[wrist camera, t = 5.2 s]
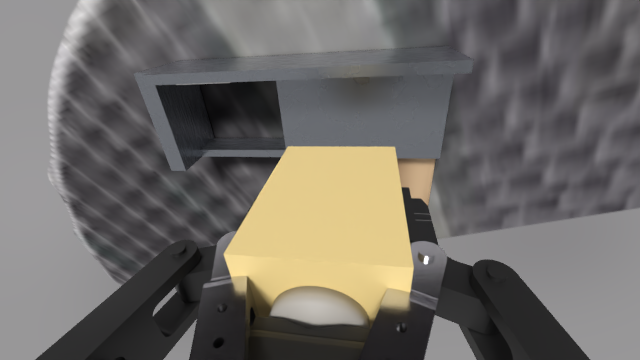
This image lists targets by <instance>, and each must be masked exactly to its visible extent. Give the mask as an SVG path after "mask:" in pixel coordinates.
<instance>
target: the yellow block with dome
mask: <svg viewBox="0 0 640 360" xmlns="http://www.w3.org/2000/svg"><path fill="white" fill-rule="evenodd" d="M224 257H225V260H226V263H227V266H228V269H229V272H230V275H231V277H233V276H247V277H248V280H249V284H250V287H251V290H252V294H253V297H254V300H255V304H256V307H257V310H258V314H259V316H260V317H269V318H278V319H284V320H287V321H289V322H292V323H294V324H297V325H299V326H302V327H304V328H307V329H310V330H313V329H320V328H327V327H334V326H341V325H342V326H351V327H360V328H369V329H371V327H372V325H373V323H374V320H375V318H376V315H377V313H378V310H379V308H380V305H381V303H382V301H383V298H384V296H385V293H386V291H387V289H388V288H392V289H398V290H402V291H406V292H410V291H411V284H412V277H413V270H414V266H413V260H412V253H411V247H410V240H409V234H408V227H407V221H406V214H405V208H404V201H403V195H402V189H401V182H400V176H399V169H398V163H397V156H396V150H395V147H330V146H288V147H287V149H286V151H285V152H284V154H283V156H282V157H281V159H280V161H279V162H278V164H277V166H276V167H275V169H274V171H273V172H272V174H271V176H270V177H269V179H268V181H267V182H266V184H265V186H264V187H263V189H262V191H261V192H260V194H259V196H258V197H257V199H256V201H255V202H254V204H253V206H252V207H251V209H250V211H249V212H248V214H247V216H246V217H245V219H244V221H243V222H242V224H241V226H240V227H239V229H238V231H237V232H236V234H235V236H234V237H233V239H232V241H231V242H230V244H229V246H228V247H227V249H226V251H225V252H224Z"/></svg>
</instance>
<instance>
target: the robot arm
mask: <svg viewBox="0 0 640 360" xmlns="http://www.w3.org/2000/svg"><path fill="white" fill-rule="evenodd" d="M401 189H402V195H403V201H404V208H405V214H406V221H407V227H408V234H409V240H410V247H411V253H412V260H413V266H414V270H413V277H412V284H411V291H410V292H406V291H402V290H398V289H392V288H388V289H387V291H386V293H385V296H384V298H383V301H382V303H381V305H380V308H379V310H378V313H377V315H376V318H375V320H374V323H373V325H372V327H371V329H369V328H360V327H351V326H342V325H341V326H334V327H327V328H320V329H313V330H310V329H307V328H304V327H302V326H299V325H297V324H294V323H292V322H289V321H287V320H284V319H278V318H269V317H260V316H259V314H258V310H257V307H256V304H255V300H254V297H253V294H252V290H251V287H250V284H249V280H248V277H247V276H233V277H231V275H230V272H229V269H228V266H227V263H226V260H225V257H224V252H225V251H226V249H227V247H228V246H229V244H230V242H231V241H232V239H233V237H234V236H235V234H236V232H237V231H238V229H239V227H240V226H241V224H242V222H243V221H244V219H245V217H246V216H247V214H248V213H247V214H246V215H245V217H244V218H243V220H242V222H241V223H240V225H239V227H238V228H237V230H236V231H234V232H231V233H228V234H226V235H225V236H223V237H222V238H221V239H220V240H219V242H218V243H217V245H215V246H210V247H204V248H199V249H198V246H197V244H196V242H194V241H192V240H181V241H178V242H175V243H173V244H171V245H170V246H168V247H167V248H166V249H165V250H163V251H162V252H161V253H160V254H159V255H158V256H156V257H155V258H154V259H153V260H152V261H150V262H149V263H148V264H147V265H146V266H145V267H143V268H142V269H141V270H140V271H139V272H138V273H136V274H135V275H134V276H133V277H132V278H131V279H129V280H128V281H127V282H126V283H125V284H124V285H122V286H121V287H120V288H119V289H118V290H117V291H115V292H114V293H113V294H112V295H111V296H110V297H109V298H107V299H106V300H105V301H104V302H102V303H101V304H100V305H99V306H98V307H97V308H95V309H94V310H93V311H92V312H91V313H90V314H88V315H87V316H86V317H85V318H84V319H83V320H81V321H80V322H79V323H78V324H77V325H76V326H74V327H73V328H72V329H71V330H70V331H68V332H67V333H66V334H65V335H64V336H63V337H62V338H60V339H59V340H58V341H57V342H56V343H54V344H53V345H52V346H51V347H50V348H49V349H47V350H46V351H45V352H44V353H43V354H42V355H40V356H39V357H38V358H37V359H36V360H163V359H164V358H165V357H166V355H167V354H168V353H169V352H170V351H171V349H172V348H173V347H174V346H175V344H176V343H177V342H178V341H179V340H180V338H181V337H182V336H183V335H184V333H185V332H186V331H187V330H188V328H189V327H190V326H191V325H192V324H193V322H194V321H195V320H196V319H197V321H196V326H195V331H194V337H193V342H192V347H191V352H190V357H189V360H424V358H425V354H426V349H427V346H428V341H429V337H430V332H431V328H432V324H433V320H434V315H437V316H439V317H442V318H444V319H447V320H450V321H452V322H454V323H457V324H459V326H460V328H461V330H462V332H463V334H464V336H465V338H466V340H467V342H468V344H469V346H470V347H471V349H472V351H473V353H474V355H475V357H476V359H477V360H590V359H589V358H588V357H587V355H586V354H585V353H584V352H583V351H582V350H581V348H580V347H579V346H578V345H577V344H576V342H575V341H574V340H573V339H572V338H571V337H570V335H569V334H568V333H567V332H566V331H565V330H564V328H563V327H562V326H561V325H560V324H559V323H558V321H557V320H556V319H555V318H554V317H553V315H552V314H551V313H550V312H549V311H548V310H547V308H546V307H545V306H544V305H543V304H542V302H541V301H540V300H539V299H538V298H537V297H536V295H535V294H534V293H533V292H532V291H531V290H530V288H529V287H528V286H527V285H526V284H525V283H524V281H523V280H522V279H521V278H520V277H519V275H518V274H517V273H516V272H515V271H514V270H513V269H512V268H510V267H509V266H507V265H505V264H503V263H501V262H498V261H494V260H480V261H478V262H476V263H475V264H474V266H470V265H466V264H463V263H460V262H457V261H454V260H452V259H451V258H449V257H447V255H446V253H445V251H444V250H443V249H442V248H441V247H439V245H438V242H437V238H436V235H435V231H434V227H433V224H432V221H431V216H430V213H429V209H428V205H427V204H426V203H425V202H424V201H423V200H422V199H421V198H411V194H410V189H409V187H401ZM256 199H257V198H256ZM256 199H255V200H254V202H255V201H256ZM254 202H253V204H254ZM253 204H252V205H251V207H252V206H253ZM251 207H250V209H251ZM250 209H249V210H248V212H249V211H250ZM174 287H175V289H176V291H177V292H176V293H175V294H174V295H173V296H172V297H171V298H170V300H169V301H168V302H167V303H166V304H165V305H164V306H163V307H162V308H161V309H160V310H159V311H158V312H157V313H156V314H155V315H154V316H153V311H154V309H155V307H156V306H157V304H158V303H159V302H160V301H161V300H162V299H163V298H164V297H165V296H166V295H167V294H168V293H169V292H170V291H171V290H172V289H173V288H174Z"/></svg>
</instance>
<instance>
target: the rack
mask: <svg viewBox="0 0 640 360" xmlns="http://www.w3.org/2000/svg"><path fill="white" fill-rule="evenodd" d="M473 63H474V60H473V59H472V58H470V57H468V56H466V55H464V54H462V53H461V52H459V51H457V50H455V49H453V48H451V47H450V46H437V47H419V48H401V49H383V50H365V51H347V52H328V53H310V54H292V55H274V56H256V57H238V58H220V59H202V60H184V61H176V62H172V63H169V64H165V65H162V66H158V67H155V68H151V69H148V70H144V71H141V72H137V73H134V75H135V78H136V81H137V83H138V86H139V88H140V91H141V93H142V96H143V98H144V101H145V104H146V106H147V109H148V111H149V114H150V116H151V119H152V122H153V124H154V127H155V129H156V132H157V134H158V137H159V139H160V142H161V145H162V147H163V150H164V152H165V155H166V157H167V160H168V162H169V165H170V168H171V170H172V171H186V170H187V169H189V168H190V167H191V166H192V165H193V164H194V163H195V162H197V161H198V160H199V159H200V158H201V157H202V156H211V157H282V156H283V154H284V152H285V151H286V149H287V147H288V146H330V147H395V150H396V156H397V158H419V159H440V154H441V148H442V142H443V136H444V130H445V124H446V118H447V112H448V106H449V100H450V94H451V88H452V82H453V76H454V73H472V68H473ZM250 81H276V85H277V92H278V99H279V106H280V112H281V119H282V126H283V133H284V138H214V135H213V132H212V128H211V125H210V121H209V118H208V114H207V111H206V107H205V104H204V100H203V96H202V93H201V89H200V86H199V84H213V83H231V82H250Z"/></svg>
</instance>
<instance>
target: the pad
mask: <svg viewBox="0 0 640 360" xmlns="http://www.w3.org/2000/svg"><path fill="white" fill-rule="evenodd" d="M397 163H398V169H399V176H400V182H401V187H409V189H410V194H411V198H421V199H422V200H423V201H424V202H425V203H426V204H427V205H428V203H429V196H430V190H431V184H432V177H433V171H434V165H435V159H419V158H397Z"/></svg>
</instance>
